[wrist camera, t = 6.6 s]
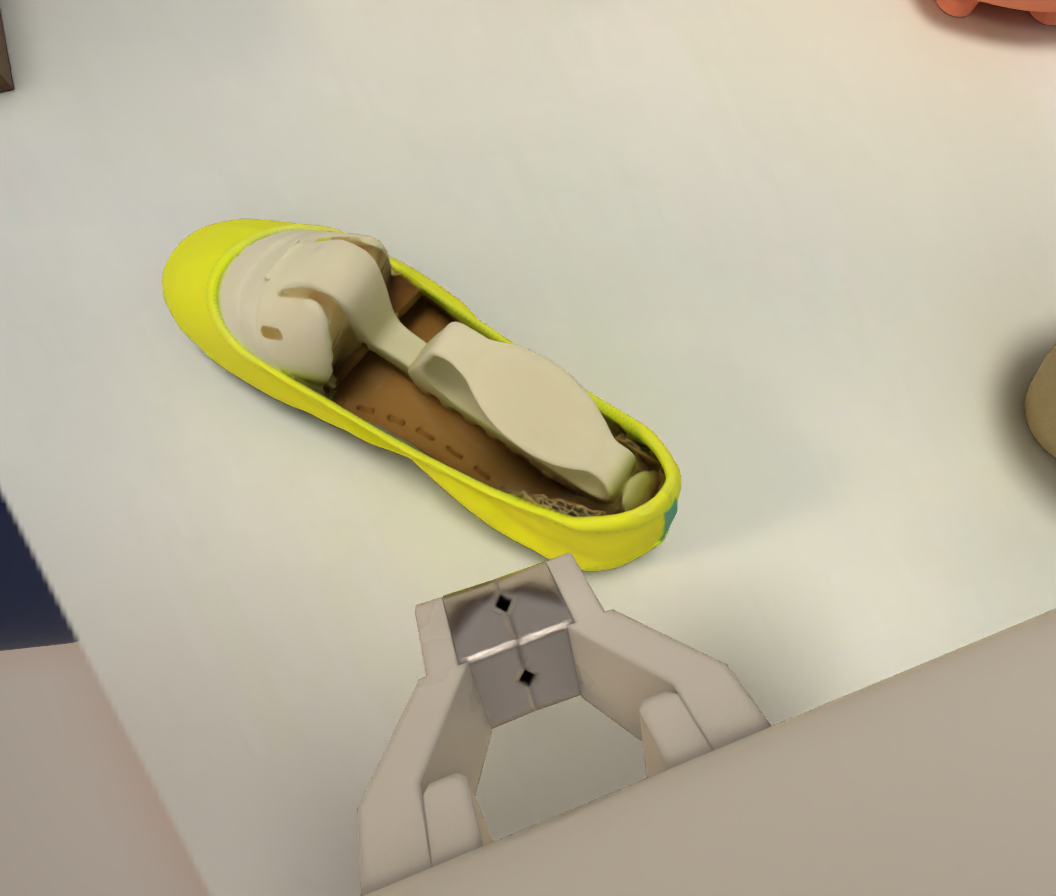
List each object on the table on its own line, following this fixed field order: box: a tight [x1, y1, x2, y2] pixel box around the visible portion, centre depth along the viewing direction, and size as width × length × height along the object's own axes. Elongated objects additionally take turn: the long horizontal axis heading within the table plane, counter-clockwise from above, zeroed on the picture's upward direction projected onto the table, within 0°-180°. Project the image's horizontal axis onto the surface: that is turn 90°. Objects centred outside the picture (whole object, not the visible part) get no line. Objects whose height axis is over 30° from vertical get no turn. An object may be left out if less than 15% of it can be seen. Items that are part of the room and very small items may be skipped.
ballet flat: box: [162, 219, 681, 571], centre depth 23 cm, size 8×24×8 cm, turn 58°
